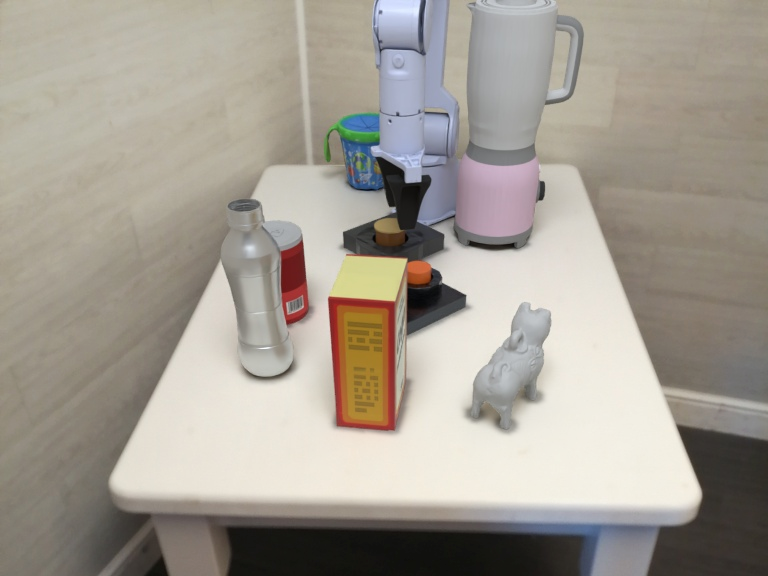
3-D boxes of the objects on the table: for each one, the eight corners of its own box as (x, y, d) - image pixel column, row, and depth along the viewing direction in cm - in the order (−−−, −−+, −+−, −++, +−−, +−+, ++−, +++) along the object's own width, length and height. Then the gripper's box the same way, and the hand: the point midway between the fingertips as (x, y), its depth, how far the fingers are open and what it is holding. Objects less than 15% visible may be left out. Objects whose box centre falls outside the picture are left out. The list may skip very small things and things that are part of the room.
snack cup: (418, 176, 132) (420, 115, 124) (403, 199, 125) (404, 136, 117) (337, 168, 135) (334, 108, 128) (318, 190, 128) (314, 128, 120)
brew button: (418, 270, 100) (418, 258, 99) (436, 279, 98) (436, 267, 97) (398, 278, 98) (399, 266, 97) (416, 288, 96) (417, 275, 95)
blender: (454, 252, 110) (470, -1, 88) (451, 218, 119) (464, -20, 96) (557, 252, 110) (600, -2, 87) (547, 218, 118) (583, -21, 96)
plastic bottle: (287, 386, 86) (265, 220, 72) (233, 380, 87) (201, 215, 73) (302, 356, 91) (284, 195, 76) (250, 351, 92) (224, 190, 77)
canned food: (313, 298, 101) (307, 220, 93) (303, 328, 95) (295, 248, 87) (260, 296, 101) (248, 218, 94) (246, 326, 96) (233, 246, 88)
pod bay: (396, 226, 117) (396, 211, 115) (446, 251, 111) (447, 235, 109) (337, 249, 111) (336, 233, 110) (387, 276, 105) (387, 260, 103)
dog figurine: (552, 380, 87) (568, 298, 79) (506, 437, 79) (518, 353, 71) (512, 366, 89) (523, 286, 81) (463, 421, 81) (470, 338, 73)
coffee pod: (391, 243, 113) (391, 215, 109) (412, 254, 110) (413, 225, 107) (368, 253, 110) (367, 224, 107) (388, 264, 108) (388, 234, 105)
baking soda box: (352, 377, 87) (346, 250, 76) (405, 381, 87) (407, 254, 75) (337, 426, 81) (327, 295, 69) (394, 431, 80) (394, 299, 69)
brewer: (416, 281, 104) (416, 258, 101) (465, 307, 99) (467, 284, 96) (357, 307, 99) (356, 283, 96) (406, 336, 94) (406, 312, 91)
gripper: (360, 94, 95) (363, 198, 105) (381, 130, 85) (382, 242, 95) (412, 90, 96) (411, 194, 106) (439, 126, 86) (435, 237, 96)
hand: (401, 216), depth 100 cm, fingers open, 7 cm apart
